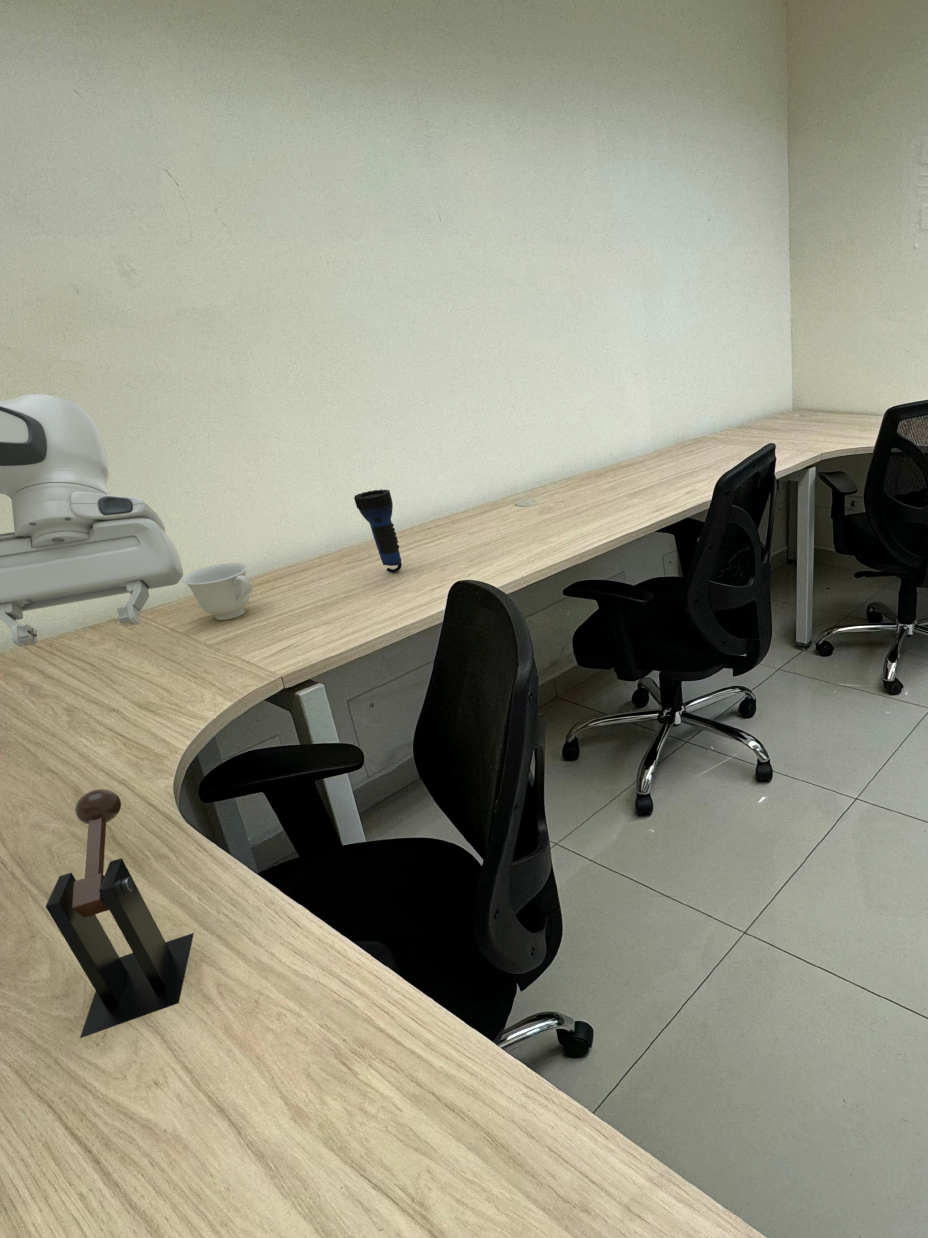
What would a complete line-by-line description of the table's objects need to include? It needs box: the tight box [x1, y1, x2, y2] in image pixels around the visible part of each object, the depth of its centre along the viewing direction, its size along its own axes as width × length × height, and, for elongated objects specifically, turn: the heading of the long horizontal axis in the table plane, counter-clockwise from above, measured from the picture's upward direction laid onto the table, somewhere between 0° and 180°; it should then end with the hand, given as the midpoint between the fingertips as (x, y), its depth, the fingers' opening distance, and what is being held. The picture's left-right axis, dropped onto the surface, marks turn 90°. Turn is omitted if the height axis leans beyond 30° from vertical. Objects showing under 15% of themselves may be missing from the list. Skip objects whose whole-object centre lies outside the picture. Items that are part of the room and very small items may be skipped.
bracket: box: [45, 857, 195, 1039], centre depth 75 cm, size 10×8×15 cm
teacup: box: [181, 562, 253, 621], centre depth 165 cm, size 12×15×10 cm
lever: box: [72, 788, 122, 918], centre depth 76 cm, size 13×4×4 cm, turn 27°
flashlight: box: [353, 489, 403, 573], centre depth 183 cm, size 8×8×20 cm
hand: (78, 633), depth 84 cm, fingers open, 8 cm apart
